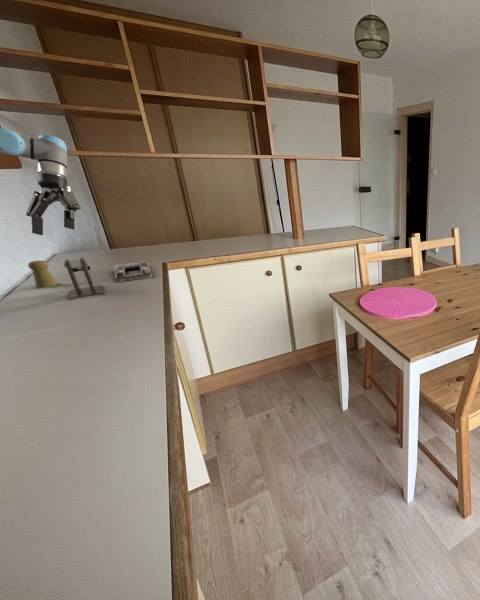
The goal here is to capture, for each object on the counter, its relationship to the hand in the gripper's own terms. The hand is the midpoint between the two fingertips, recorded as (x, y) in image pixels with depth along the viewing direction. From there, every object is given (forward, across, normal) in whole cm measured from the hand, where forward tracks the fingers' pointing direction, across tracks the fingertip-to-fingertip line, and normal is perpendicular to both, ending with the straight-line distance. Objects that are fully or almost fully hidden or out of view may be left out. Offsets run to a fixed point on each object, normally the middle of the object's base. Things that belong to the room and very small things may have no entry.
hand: (53, 231), depth 116 cm
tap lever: (+14, -2, -7) cm, 15 cm away
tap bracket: (+23, -3, -8) cm, 25 cm away
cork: (+17, +19, -12) cm, 28 cm away
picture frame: (+11, 0, -31) cm, 33 cm away
